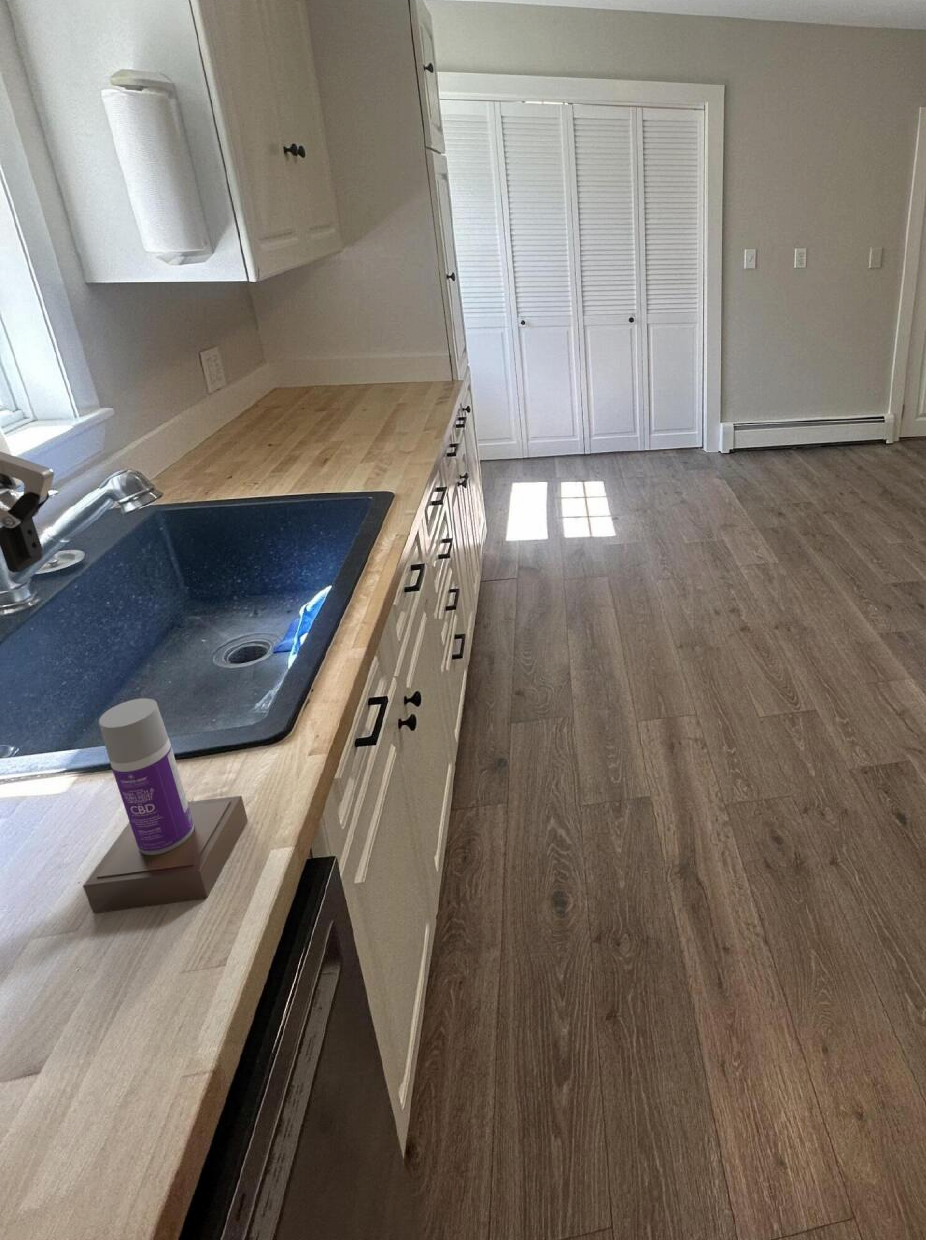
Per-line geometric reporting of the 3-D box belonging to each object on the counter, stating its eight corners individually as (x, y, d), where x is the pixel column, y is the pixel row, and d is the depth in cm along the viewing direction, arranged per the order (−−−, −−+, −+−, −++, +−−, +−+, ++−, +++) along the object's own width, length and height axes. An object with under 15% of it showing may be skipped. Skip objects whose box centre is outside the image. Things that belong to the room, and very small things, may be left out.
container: (140, 863, 71) (97, 735, 66) (136, 833, 74) (96, 710, 69) (197, 839, 74) (160, 714, 69) (191, 811, 77) (156, 691, 72)
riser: (92, 913, 70) (81, 885, 69) (147, 832, 79) (139, 806, 78) (207, 898, 72) (198, 870, 70) (248, 820, 81) (241, 794, 80)
